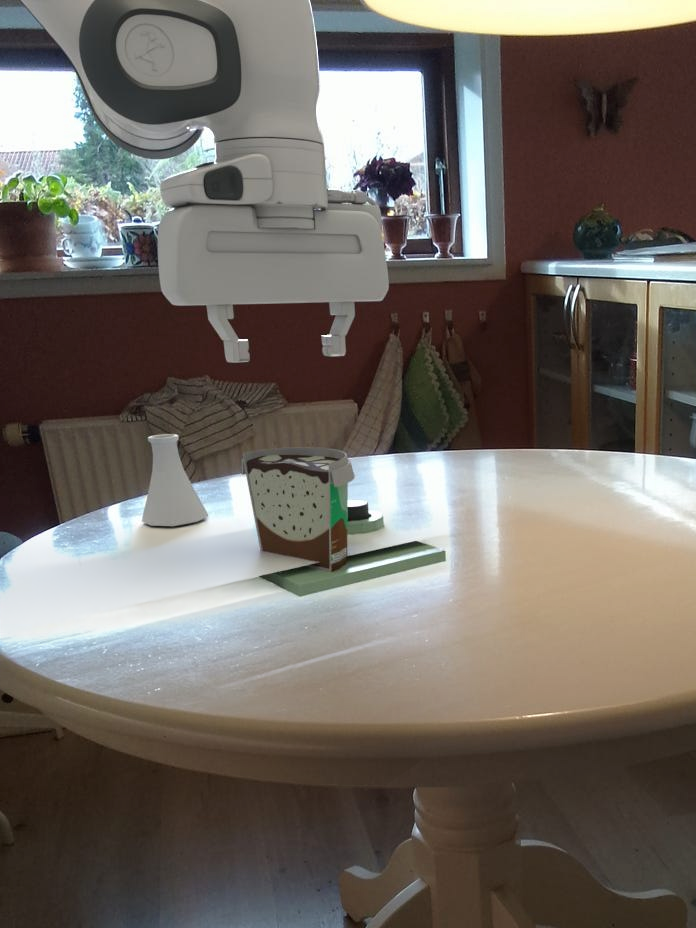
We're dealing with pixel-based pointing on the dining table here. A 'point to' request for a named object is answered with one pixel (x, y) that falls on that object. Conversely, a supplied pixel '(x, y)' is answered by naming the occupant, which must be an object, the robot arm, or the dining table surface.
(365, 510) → the tare button
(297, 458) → the food container
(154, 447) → the flask
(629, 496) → the dining table surface
